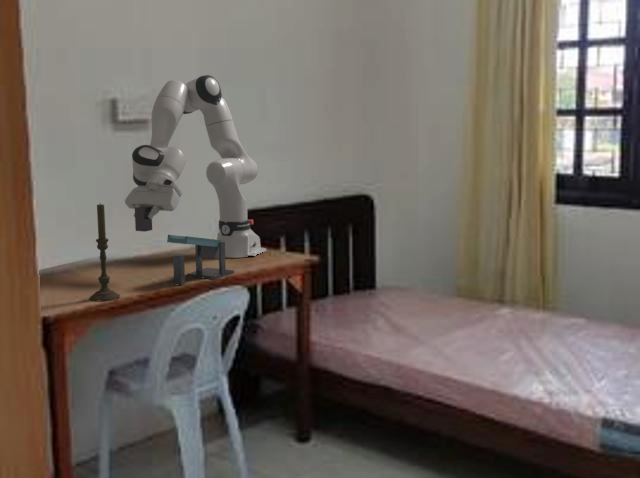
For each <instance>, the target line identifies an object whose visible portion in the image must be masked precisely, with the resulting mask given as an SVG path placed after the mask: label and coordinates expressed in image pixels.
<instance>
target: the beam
mask: <svg viewBox="0 0 640 478" xmlns="http://www.w3.org/2000/svg"><path fill="white" fill-rule="evenodd" d="M221 241H222V240H217V239H213V238H204V237H196V236H189V235H188V236H186V235H185V236H183V235H174V234H167V243H172V244H182V245H192V246H195V245H201V253H200V257H202V258H207V259H209V258H210V259H219V243H220V242H221Z"/></svg>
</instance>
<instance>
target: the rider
mask: <svg viewBox="0 0 640 478" xmlns="http://www.w3.org/2000/svg"><path fill="white" fill-rule="evenodd" d="M151 211H152V209H151V207H143V206H142V207H136V208H135V209H134V213H135V217H134V224H135V225H134V226H135V232H150V231H153V218H152V219H147V217H146V215H147V213H148V212H151Z"/></svg>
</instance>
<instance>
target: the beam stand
mask: <svg viewBox="0 0 640 478" xmlns="http://www.w3.org/2000/svg"><path fill="white" fill-rule="evenodd" d="M194 247H195V270H194V271H191V272H188V273H186V269H185V254H174V255H172V260H173V261H172V265H173V285H174V284H178V285H177V286H181V285H182V286H184V285H183V284H185V285H186V278H185V277H188V276H192V277H191V278H197V277H204V278H203V279H206V278H210V279H209V280H217V279H220V278H223V277H227V276H230V275H233V274H235V270H234V269H233V270H232V269H227V268H226V257H225V242H220V243H219V258H218V266H219V267H218V268H214V267H205V268H203V257H200V253H201V245H194ZM185 273H186V274H187V275H185Z"/></svg>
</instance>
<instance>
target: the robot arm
mask: <svg viewBox="0 0 640 478" xmlns="http://www.w3.org/2000/svg"><path fill="white" fill-rule="evenodd" d="M196 111H200V112H201V113H202V115H203V119H204V124H205V130H206V132H207V136H208V140H209V144H210V146H211V148H212V149H214V150H215V151H216V153H218V155H219V156H220V158H218V159H216V160H214V161H211V162H210V163H209V164H208V165H207V167H206V171H205V173H206V174H205V175H206V178H207V181H208V182H209V183H210V184H211V185H212V186H213V188H214V189H215V190H214V191H215V193H216V195H217V199H218V205H219V206H218V207H219V220H218V230H219V231H218V233H217V238H216V240H222V241H221V242H225V259H226V258H228V259H229V258H231V259H232V258H234V259H236V258H237V259H240V258H249V257H248V256H255V257H257V256H258V255H257V254H259V255H260V253H261V254H262V252H263V253H265V252H267V248H266V247H261V238H260V236H259V235H258V234H256V233H255V232H254V230H252V229H251V226H252V225H254V219H248V200H247V198H246V197H245V196H244V195H243V194H242V191H241V188H240V185H245V184H248V183H250V182H252V181H254V180H255V179H256V178H257V176H258V172H259V170H258V165H257V163H256V161H255V160H254V159H252V158H251V157H250V156H249V155H248V153H247V152H246V150H245V149H244V146H243V145H242V143H241V141H240V139H239V136H238V133H237V129H236V126H235V123H234V118H233V115H232V113H231V110H230V108H229V105H228V104H227V101H226V100H225V98H224V97H223V96H222V89H221V86H220V83H219V81H218V80H217V79H216V78H215V77H214V76H212V75H211V74H207V75H205V74H204V75H201V76H199V77H197V78H194V79H192V80H190V81H188V82H187V83H184V82H182V81H181V80H178V79H172V80H168V81H167V82H166V83H165V84H164V86H163V87H162V88H161V90H160V91H159V93H158V95H157V97H156V98H155V100H154V103H153V106H152V110H151V139H150V144H142V145H138V146H137V147H136V148H134V150H133V152H132V154H131V158H132V161H131V162H132V171H133V172H132V180H133V182H134V184H136V185H137V186H136V187H134V188H133V189H132V190H131V191H130V192H129V194H128V195H127V196H126V198H125V199H124V203H125V205H126V206H127V207H128V208H129V209H131V210H132V209H133V210H135V208H136V207H142V206H143V207H151V209H152V211H151V212H148V213H147V215H146V217H147V219H152V220H153V218H154V217H155V216H156V215H158V213H160V211H163V212H164V211H165V212H172V211H175V210H176V208H177V206H178V205H179V203H180V201H181V197H182V196H183V191H182V190H181V188H180V186H179V185H178V183H177V182H176V181H177V180H178V179H179V178H180V176H181V174H182V172H183V170H184V168H185V166H186V161H187V160H186V157H185V154H184V153H183V152H182V151H181V149H180V148H178V147H176V146H169V144H170V141H171V140H172V138H173V136H174V133H175V132H176V129H177V126H178V125H179V122H180V121H181V119H182V116H183V115H187V114H193V112H196ZM133 217H134V218H135V212H134V213H133ZM256 255H257V256H256Z"/></svg>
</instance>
